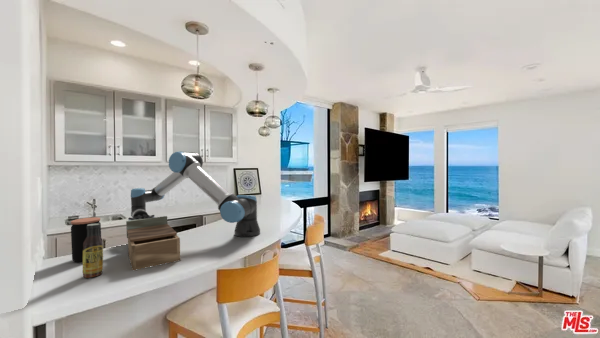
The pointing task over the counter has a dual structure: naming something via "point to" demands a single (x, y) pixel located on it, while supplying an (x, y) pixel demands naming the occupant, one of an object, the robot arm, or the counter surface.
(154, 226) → the lid
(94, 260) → the sauce bottle
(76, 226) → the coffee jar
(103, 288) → the counter surface
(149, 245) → the chest
